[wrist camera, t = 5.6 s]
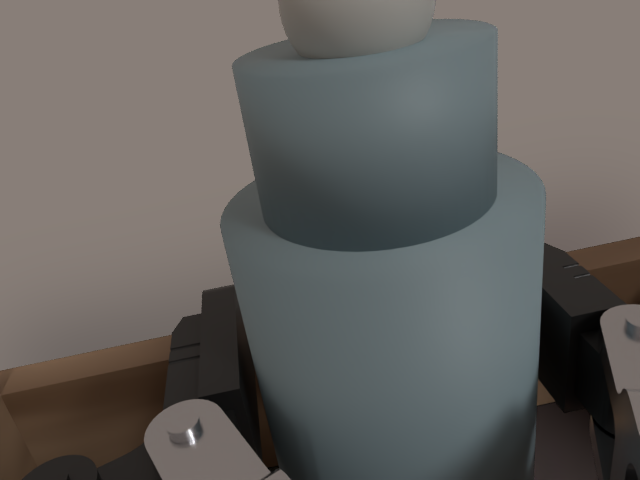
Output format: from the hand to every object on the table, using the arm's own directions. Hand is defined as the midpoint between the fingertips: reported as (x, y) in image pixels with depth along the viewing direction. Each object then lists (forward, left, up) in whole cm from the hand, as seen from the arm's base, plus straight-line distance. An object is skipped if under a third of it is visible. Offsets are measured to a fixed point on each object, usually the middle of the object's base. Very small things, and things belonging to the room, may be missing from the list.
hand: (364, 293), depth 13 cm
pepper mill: (-1, +2, -8) cm, 8 cm away
